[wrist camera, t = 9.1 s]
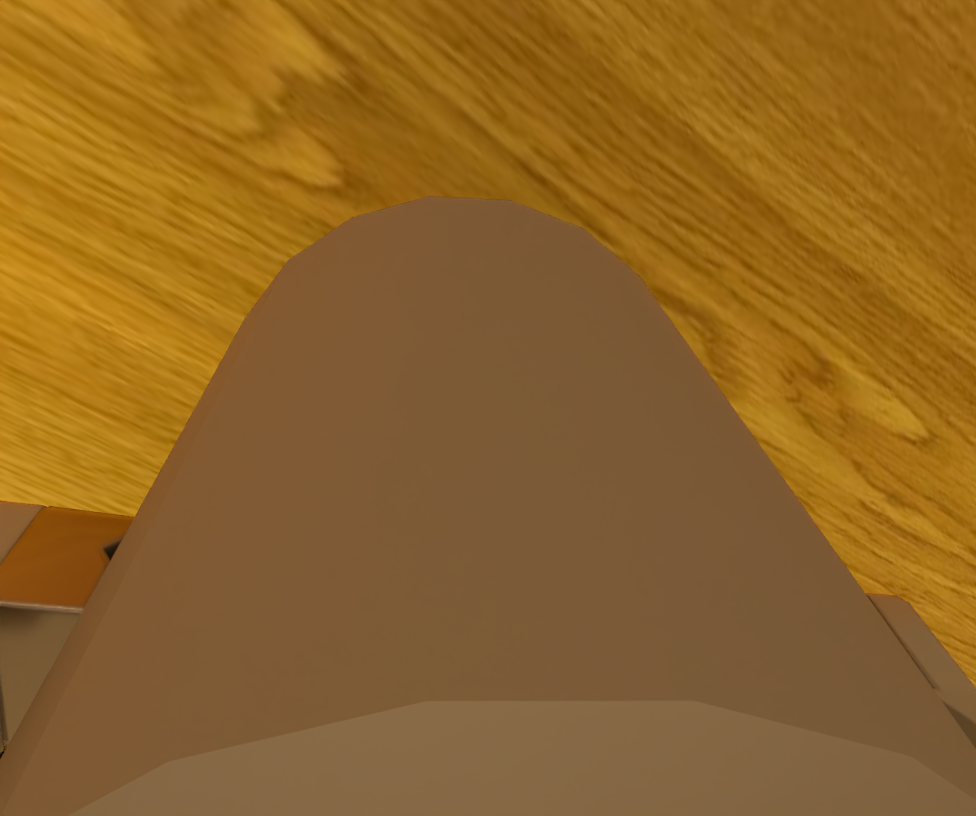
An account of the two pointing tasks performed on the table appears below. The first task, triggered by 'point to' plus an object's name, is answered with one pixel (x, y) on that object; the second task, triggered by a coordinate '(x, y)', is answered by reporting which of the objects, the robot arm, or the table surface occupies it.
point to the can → (476, 570)
